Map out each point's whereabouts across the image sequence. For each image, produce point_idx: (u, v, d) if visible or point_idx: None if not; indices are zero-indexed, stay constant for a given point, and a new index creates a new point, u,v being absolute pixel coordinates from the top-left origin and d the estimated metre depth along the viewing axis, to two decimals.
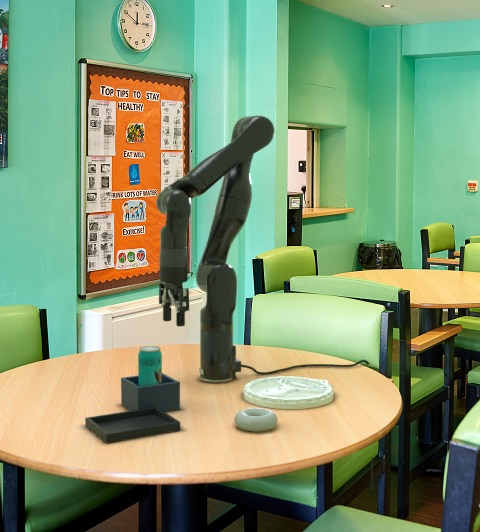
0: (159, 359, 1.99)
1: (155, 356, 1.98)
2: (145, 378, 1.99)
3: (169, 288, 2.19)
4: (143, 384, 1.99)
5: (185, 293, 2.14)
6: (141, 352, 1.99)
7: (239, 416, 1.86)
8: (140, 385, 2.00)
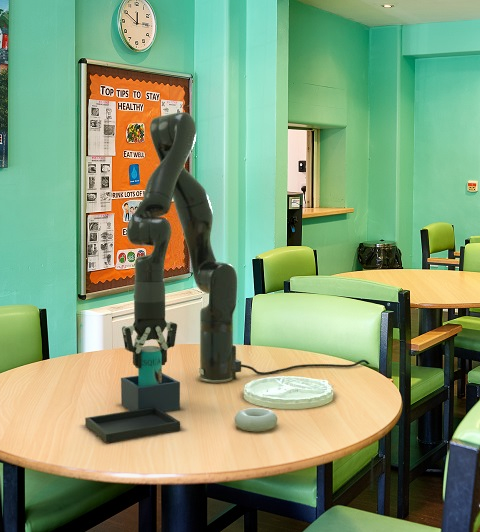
0: (159, 359, 1.99)
1: (155, 356, 1.98)
2: (145, 378, 1.99)
3: None
4: (143, 384, 1.99)
5: (124, 333, 1.96)
6: (141, 352, 1.99)
7: (239, 416, 1.86)
8: (140, 385, 2.00)
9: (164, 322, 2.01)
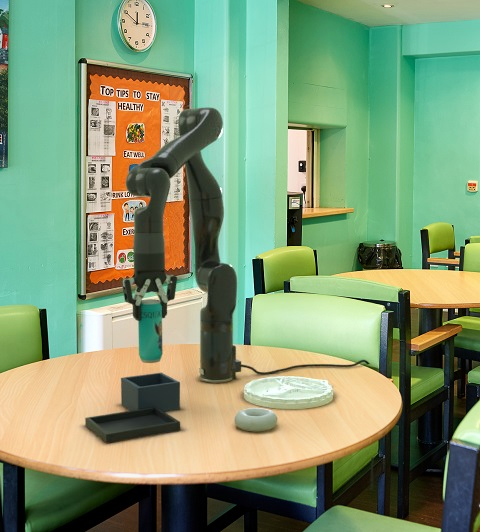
0: (159, 312, 1.98)
1: (155, 308, 1.97)
2: (145, 331, 1.97)
3: None
4: (143, 337, 1.98)
5: (124, 284, 1.95)
6: (141, 305, 1.97)
7: (239, 416, 1.86)
8: (140, 338, 1.98)
9: (164, 274, 1.99)
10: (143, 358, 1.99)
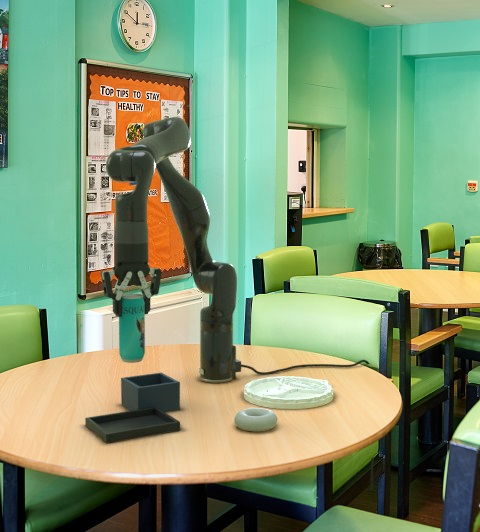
0: (141, 307, 1.82)
1: (137, 303, 1.81)
2: (126, 328, 1.81)
3: None
4: (124, 334, 1.82)
5: (103, 277, 1.79)
6: (122, 299, 1.82)
7: (239, 416, 1.86)
8: (121, 335, 1.82)
9: (147, 267, 1.83)
10: (123, 357, 1.83)
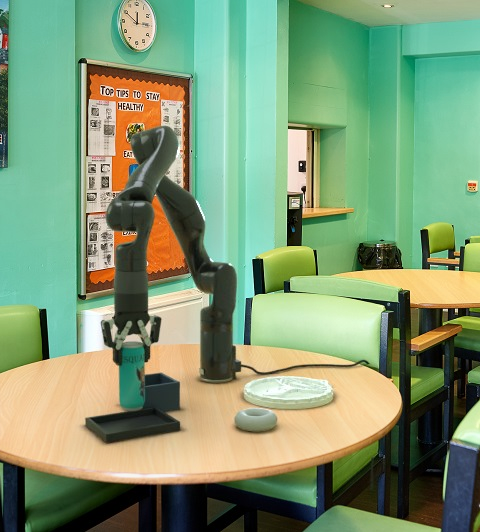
0: (141, 356, 1.83)
1: (137, 352, 1.82)
2: (126, 377, 1.82)
3: None
4: (124, 383, 1.82)
5: (103, 327, 1.80)
6: (122, 348, 1.82)
7: (239, 416, 1.86)
8: (121, 384, 1.83)
9: (147, 315, 1.84)
10: (123, 406, 1.83)
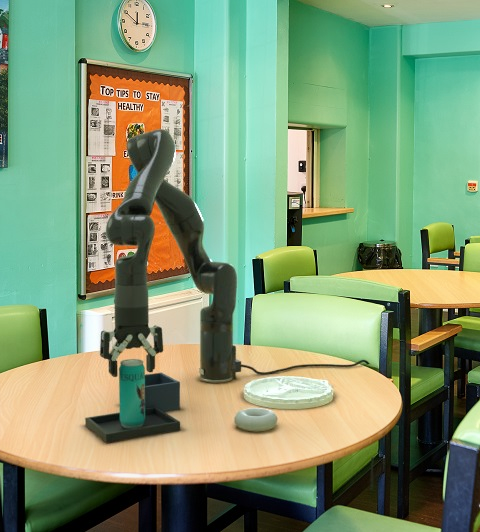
0: (142, 374, 1.83)
1: (137, 370, 1.82)
2: (126, 395, 1.82)
3: None
4: (124, 401, 1.83)
5: (102, 337, 1.80)
6: (122, 366, 1.83)
7: (239, 416, 1.86)
8: (121, 402, 1.83)
9: (147, 329, 1.84)
10: (124, 423, 1.84)
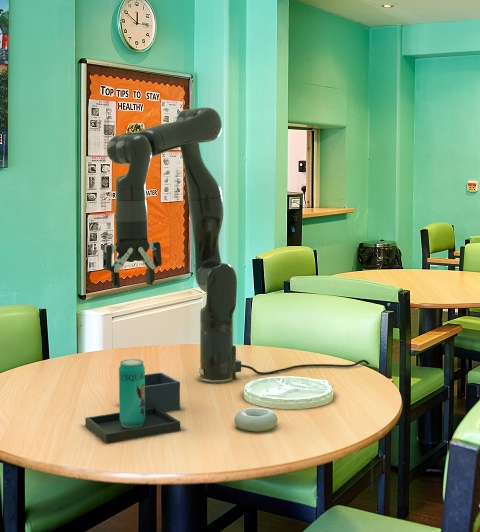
0: (142, 374, 1.83)
1: (137, 370, 1.82)
2: (126, 395, 1.82)
3: None
4: (124, 401, 1.83)
5: (105, 250, 1.92)
6: (122, 366, 1.83)
7: (239, 416, 1.86)
8: (121, 402, 1.84)
9: (146, 243, 1.97)
10: (124, 423, 1.84)
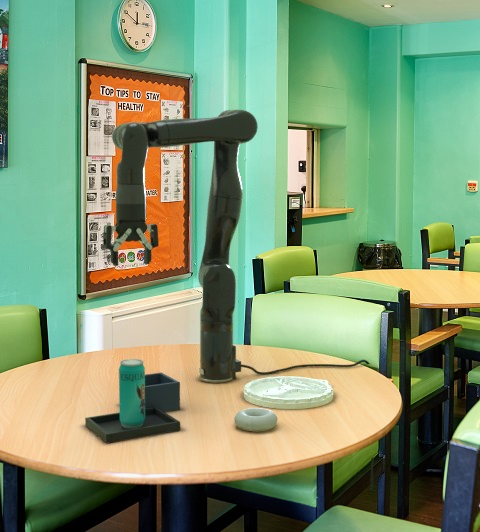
0: (142, 374, 1.83)
1: (137, 370, 1.82)
2: (126, 395, 1.82)
3: None
4: (124, 401, 1.83)
5: (105, 230, 2.06)
6: (122, 366, 1.83)
7: (239, 416, 1.86)
8: (121, 402, 1.84)
9: (144, 225, 2.10)
10: (124, 423, 1.84)
